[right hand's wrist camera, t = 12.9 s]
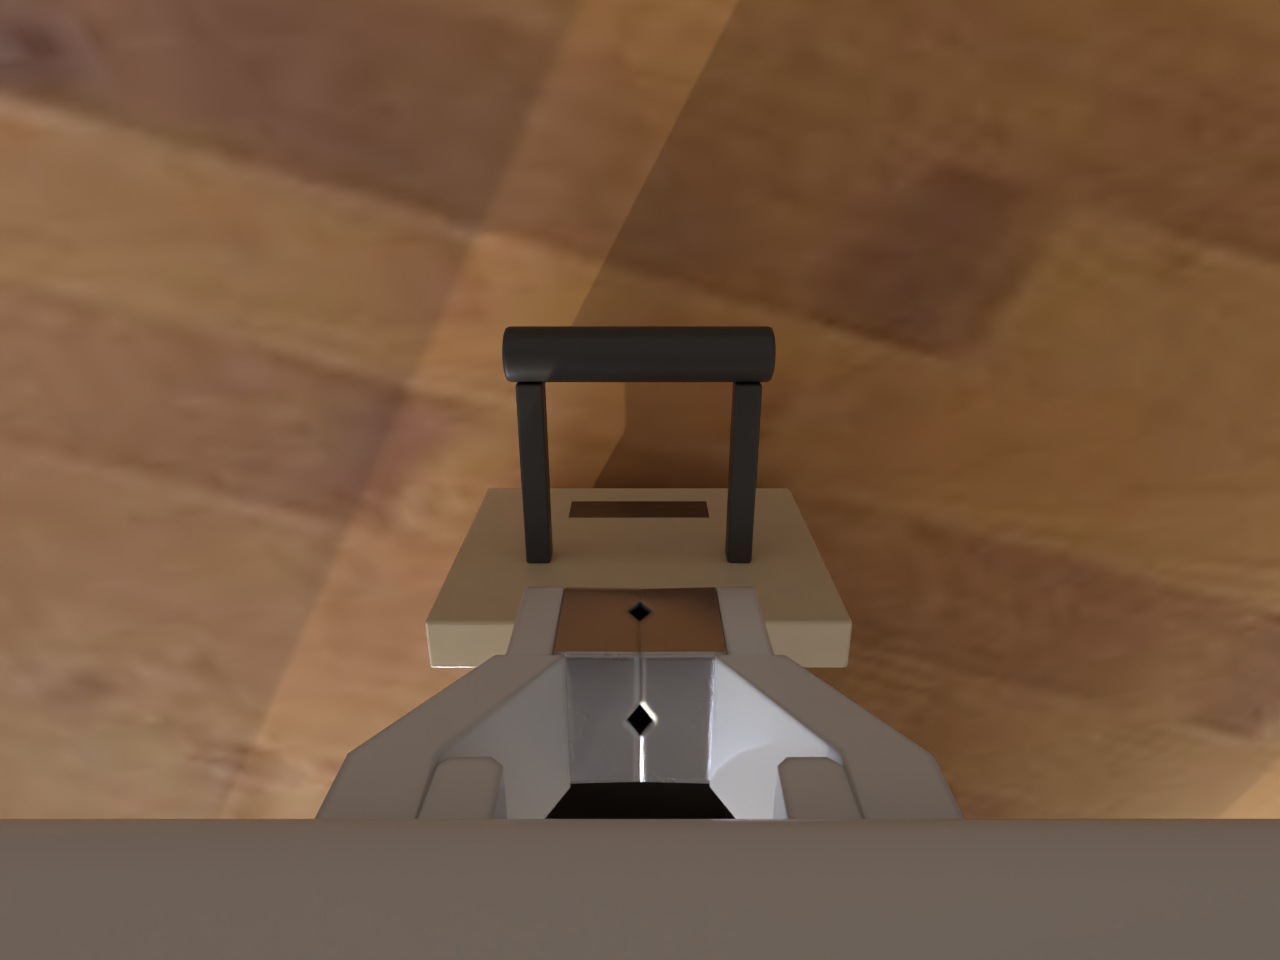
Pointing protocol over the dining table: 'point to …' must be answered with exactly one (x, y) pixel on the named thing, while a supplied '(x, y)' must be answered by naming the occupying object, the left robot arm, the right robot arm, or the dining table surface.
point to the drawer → (638, 529)
